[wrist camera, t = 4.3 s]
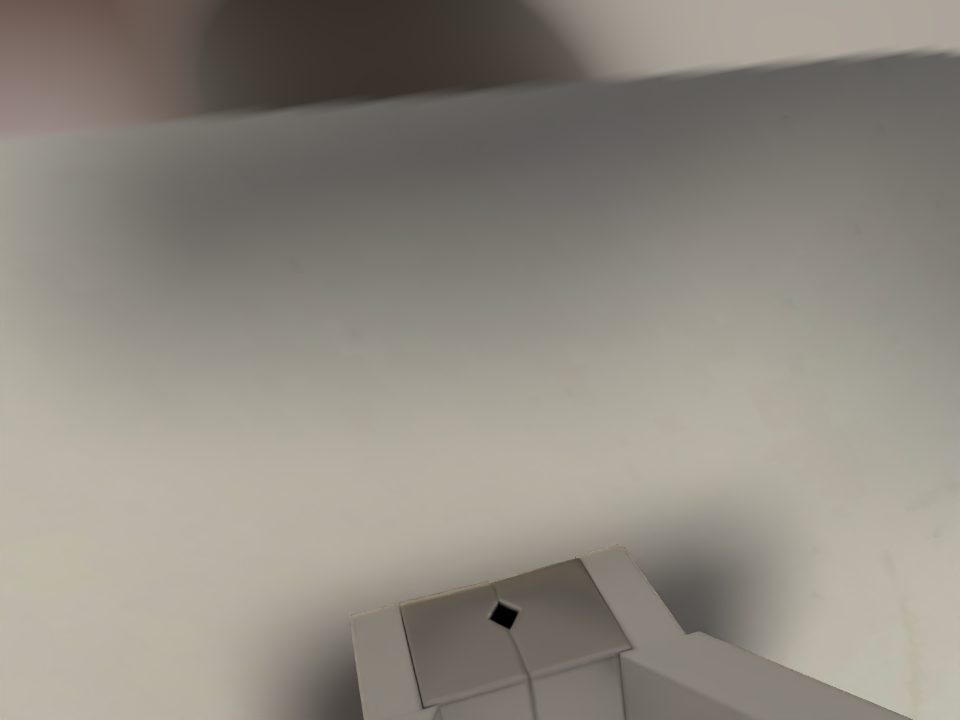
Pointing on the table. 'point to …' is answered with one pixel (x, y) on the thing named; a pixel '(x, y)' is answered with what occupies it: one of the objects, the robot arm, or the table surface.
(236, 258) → the table surface
